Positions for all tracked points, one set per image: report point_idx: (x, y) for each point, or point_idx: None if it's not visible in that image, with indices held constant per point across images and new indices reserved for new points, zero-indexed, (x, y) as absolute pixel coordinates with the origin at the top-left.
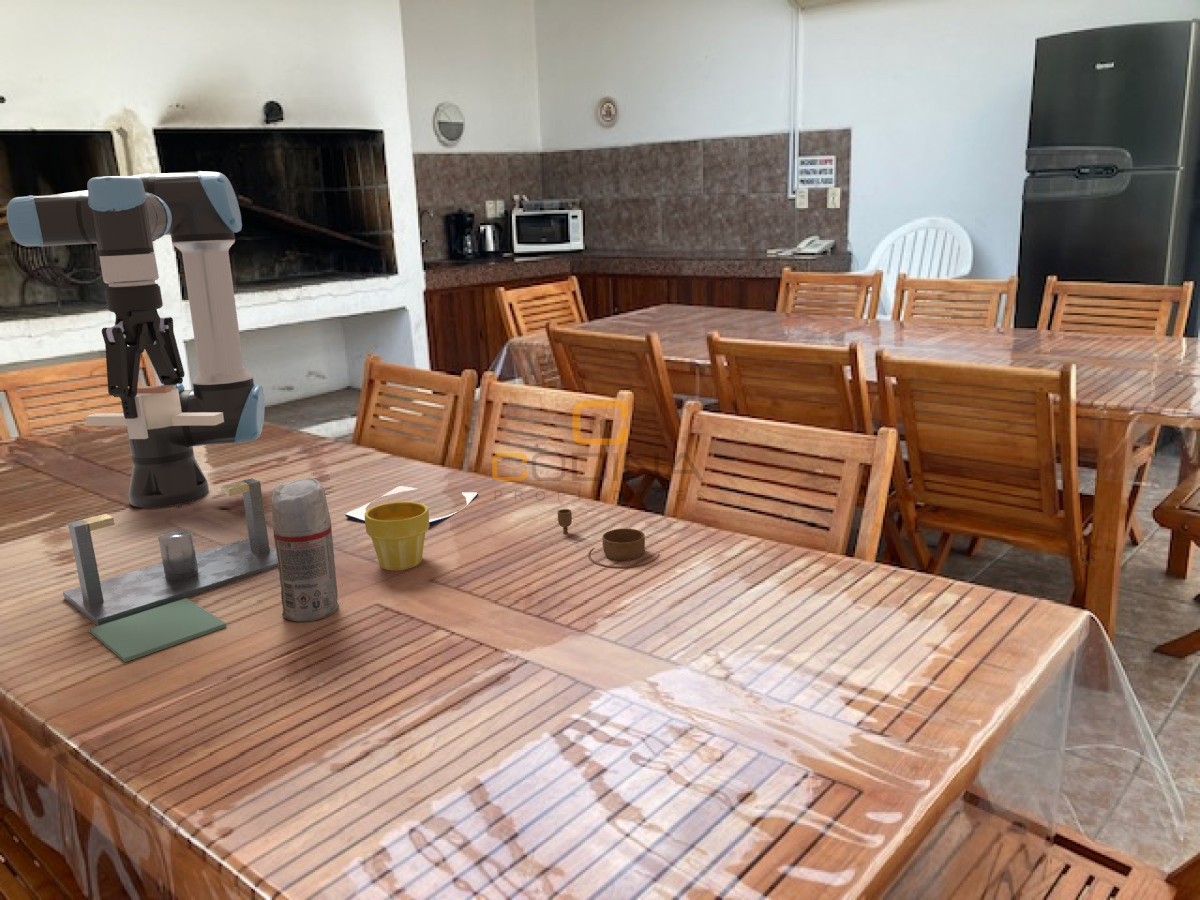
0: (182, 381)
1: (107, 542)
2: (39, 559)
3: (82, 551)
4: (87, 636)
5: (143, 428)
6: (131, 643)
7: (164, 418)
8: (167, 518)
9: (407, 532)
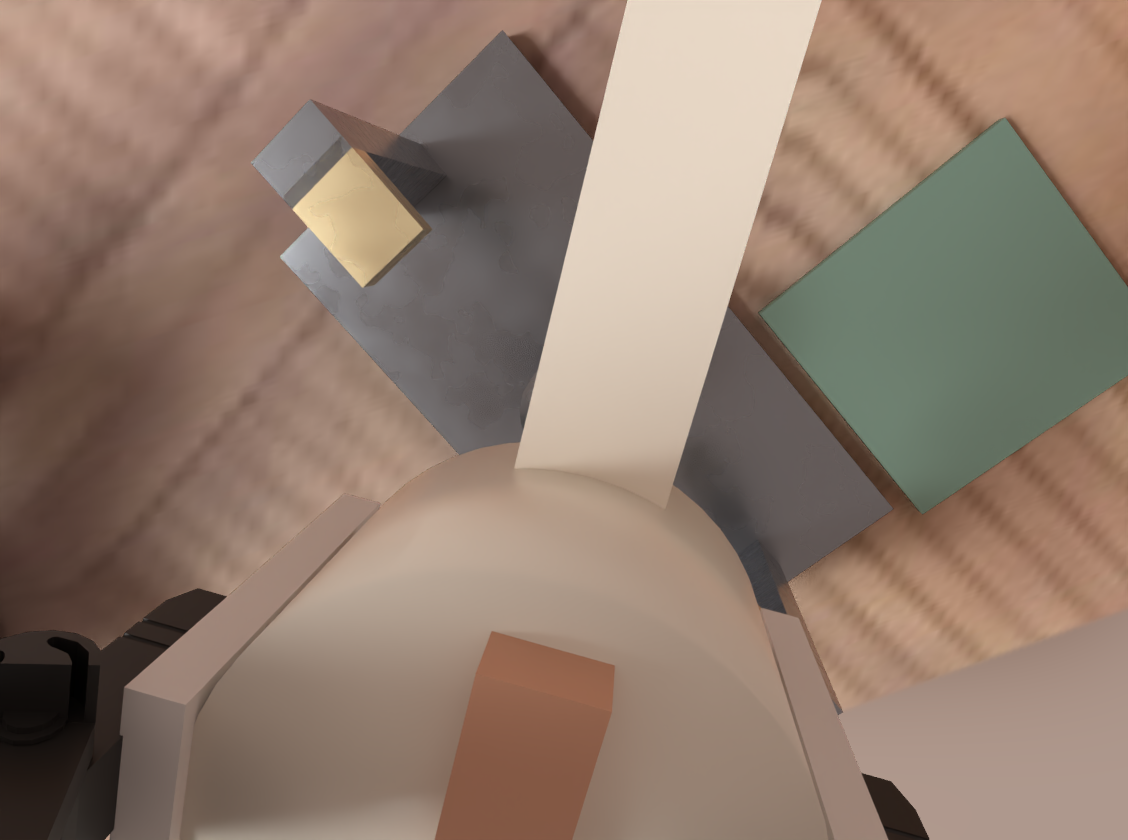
0: (21, 636)
1: None
2: None
3: (811, 646)
4: (941, 508)
5: (817, 665)
6: (1069, 362)
7: (716, 551)
8: (41, 601)
9: None
